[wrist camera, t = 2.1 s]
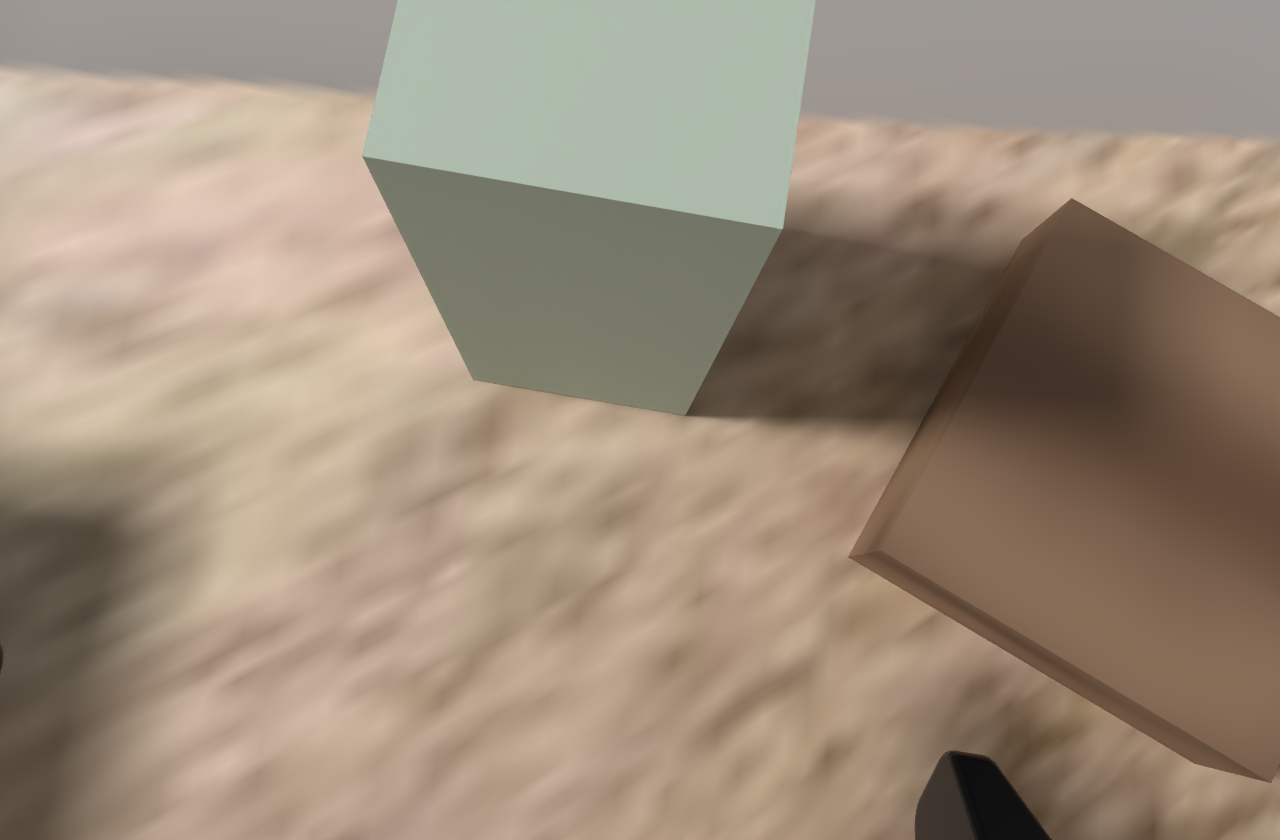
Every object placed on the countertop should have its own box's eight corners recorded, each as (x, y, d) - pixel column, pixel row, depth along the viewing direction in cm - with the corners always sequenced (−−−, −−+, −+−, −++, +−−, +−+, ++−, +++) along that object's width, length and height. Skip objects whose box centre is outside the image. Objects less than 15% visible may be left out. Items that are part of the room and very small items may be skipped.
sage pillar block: (685, 415, 24) (783, 229, 12) (473, 379, 24) (362, 155, 12) (716, 215, 25) (835, -140, 13) (512, 180, 25) (446, -210, 13)
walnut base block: (1184, 761, 23) (1271, 782, 20) (844, 557, 24) (881, 550, 21) (1335, 430, 25) (1436, 406, 22) (1014, 246, 26) (1071, 198, 23)
